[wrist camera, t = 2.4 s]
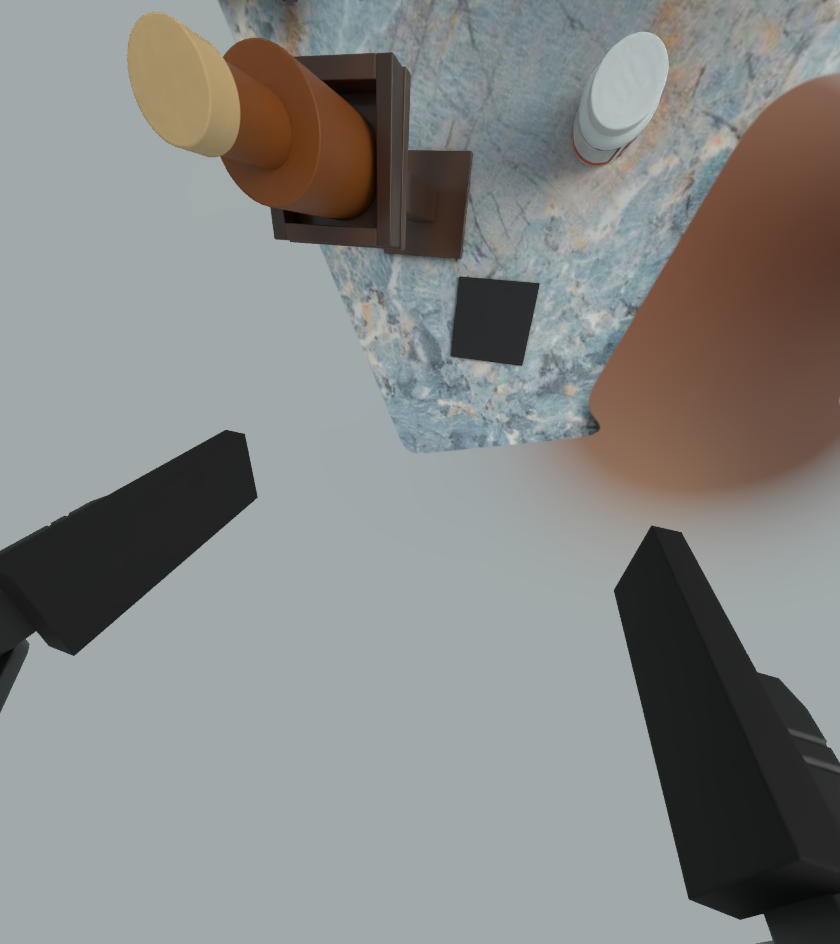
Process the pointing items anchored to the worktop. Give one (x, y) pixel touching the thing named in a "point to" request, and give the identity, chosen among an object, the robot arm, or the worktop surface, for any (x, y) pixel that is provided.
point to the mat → (493, 319)
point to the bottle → (255, 118)
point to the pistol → (286, 2)
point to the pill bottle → (619, 98)
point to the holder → (389, 170)
